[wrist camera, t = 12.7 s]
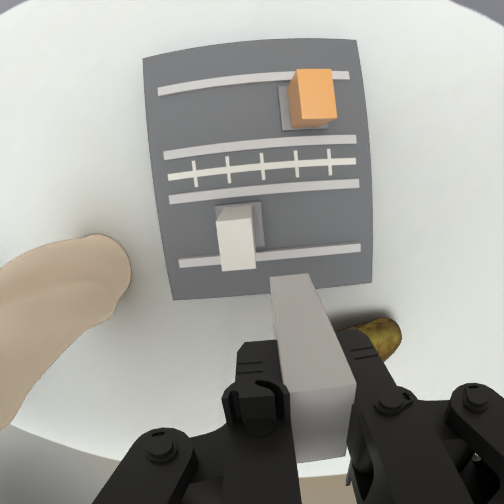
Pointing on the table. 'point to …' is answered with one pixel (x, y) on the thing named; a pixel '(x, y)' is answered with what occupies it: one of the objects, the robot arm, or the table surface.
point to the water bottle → (53, 307)
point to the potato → (382, 335)
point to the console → (258, 165)
